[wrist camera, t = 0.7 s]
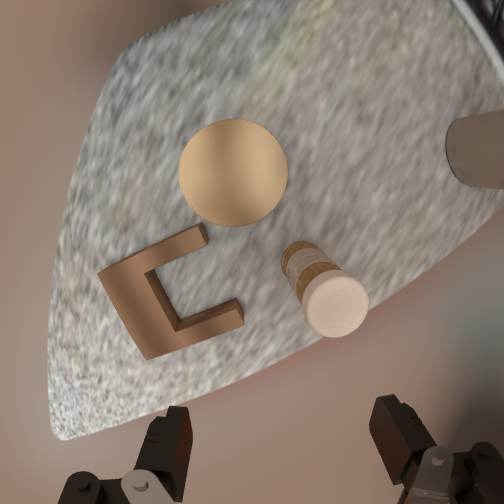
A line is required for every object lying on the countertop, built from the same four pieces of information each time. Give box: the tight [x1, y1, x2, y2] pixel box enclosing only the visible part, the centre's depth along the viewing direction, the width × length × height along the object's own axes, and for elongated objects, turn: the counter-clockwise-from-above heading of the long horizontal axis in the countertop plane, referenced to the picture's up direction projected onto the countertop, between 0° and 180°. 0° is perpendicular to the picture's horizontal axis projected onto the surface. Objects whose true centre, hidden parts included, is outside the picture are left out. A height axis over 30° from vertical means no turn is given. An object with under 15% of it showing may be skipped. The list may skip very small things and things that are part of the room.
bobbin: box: [178, 119, 288, 227], centre depth 26 cm, size 8×8×9 cm
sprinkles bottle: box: [281, 242, 369, 338], centre depth 26 cm, size 5×5×14 cm
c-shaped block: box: [97, 223, 244, 360], centre depth 31 cm, size 12×11×3 cm
